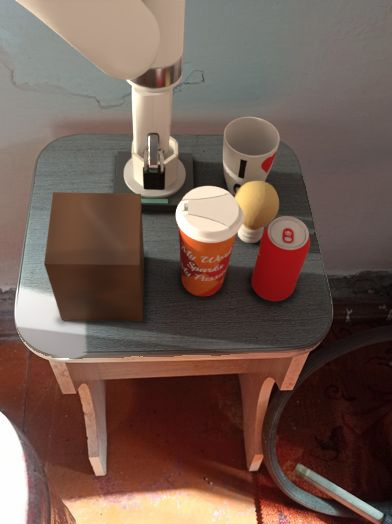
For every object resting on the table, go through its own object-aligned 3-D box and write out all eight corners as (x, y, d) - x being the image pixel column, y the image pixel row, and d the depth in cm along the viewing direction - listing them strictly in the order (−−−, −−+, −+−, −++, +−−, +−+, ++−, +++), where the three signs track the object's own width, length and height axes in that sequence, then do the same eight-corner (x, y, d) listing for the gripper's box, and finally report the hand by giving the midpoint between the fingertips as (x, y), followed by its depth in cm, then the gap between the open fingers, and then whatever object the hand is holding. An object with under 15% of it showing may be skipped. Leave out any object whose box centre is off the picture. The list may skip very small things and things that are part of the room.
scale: (115, 210, 86) (114, 201, 84) (118, 158, 91) (117, 148, 89) (193, 212, 87) (194, 203, 85) (192, 159, 92) (192, 150, 90)
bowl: (132, 188, 86) (131, 164, 81) (133, 156, 89) (132, 130, 84) (177, 189, 86) (178, 165, 82) (177, 157, 89) (177, 131, 85)
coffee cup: (172, 301, 79) (174, 232, 66) (175, 254, 83) (177, 180, 69) (231, 305, 79) (245, 237, 66) (231, 258, 83) (245, 184, 70)
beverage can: (293, 270, 83) (313, 215, 72) (293, 306, 80) (313, 254, 69) (251, 265, 83) (264, 210, 72) (249, 301, 80) (262, 248, 69)
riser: (61, 320, 77) (44, 264, 65) (68, 255, 82) (52, 191, 70) (142, 321, 77) (139, 264, 66) (144, 256, 82) (141, 193, 71)
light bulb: (269, 220, 87) (281, 172, 78) (271, 253, 84) (284, 207, 75) (228, 218, 86) (235, 170, 78) (228, 251, 84) (236, 205, 75)
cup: (225, 209, 87) (233, 160, 78) (211, 171, 91) (217, 120, 82) (275, 200, 89) (287, 151, 80) (258, 163, 92) (269, 113, 83)
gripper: (125, 18, 74) (131, 125, 90) (120, 109, 66) (128, 209, 82) (181, 20, 75) (178, 126, 90) (184, 111, 67) (179, 210, 82)
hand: (154, 165), depth 86 cm, fingers open, 8 cm apart
